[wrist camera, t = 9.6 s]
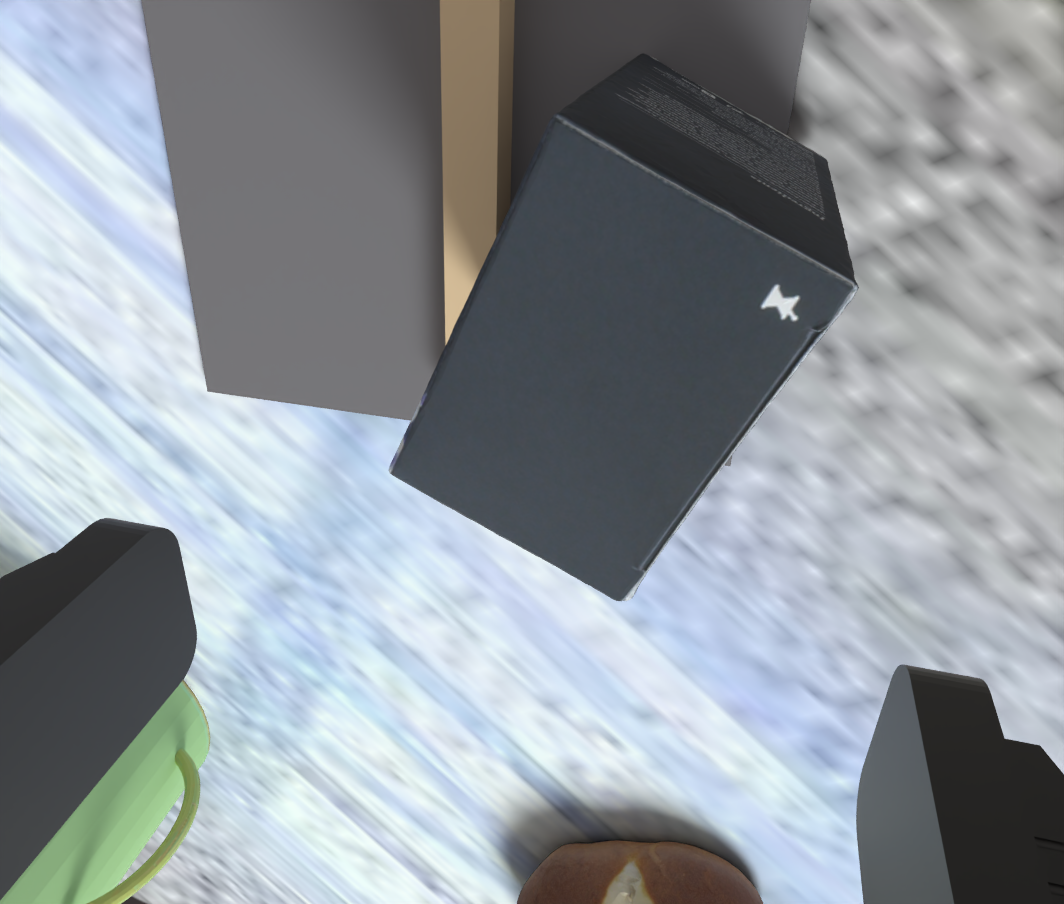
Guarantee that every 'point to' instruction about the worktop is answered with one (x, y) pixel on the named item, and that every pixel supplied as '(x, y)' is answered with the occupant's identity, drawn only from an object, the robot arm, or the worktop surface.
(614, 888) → the bread
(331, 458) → the worktop surface
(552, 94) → the mat
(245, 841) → the worktop surface
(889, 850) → the robot arm
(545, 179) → the box
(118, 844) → the mug
